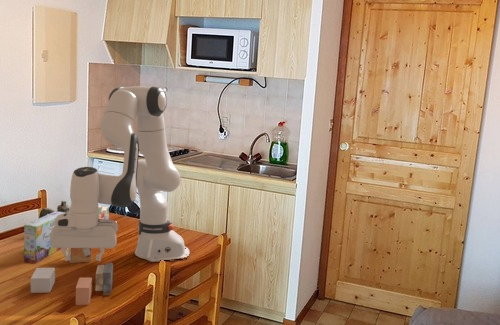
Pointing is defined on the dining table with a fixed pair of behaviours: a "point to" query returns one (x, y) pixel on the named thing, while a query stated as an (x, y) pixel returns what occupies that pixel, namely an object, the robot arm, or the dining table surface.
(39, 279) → the gray block
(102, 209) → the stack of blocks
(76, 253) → the small box
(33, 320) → the dining table surface
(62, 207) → the teapot
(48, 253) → the snack box
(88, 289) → the pink rectangular block
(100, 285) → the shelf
